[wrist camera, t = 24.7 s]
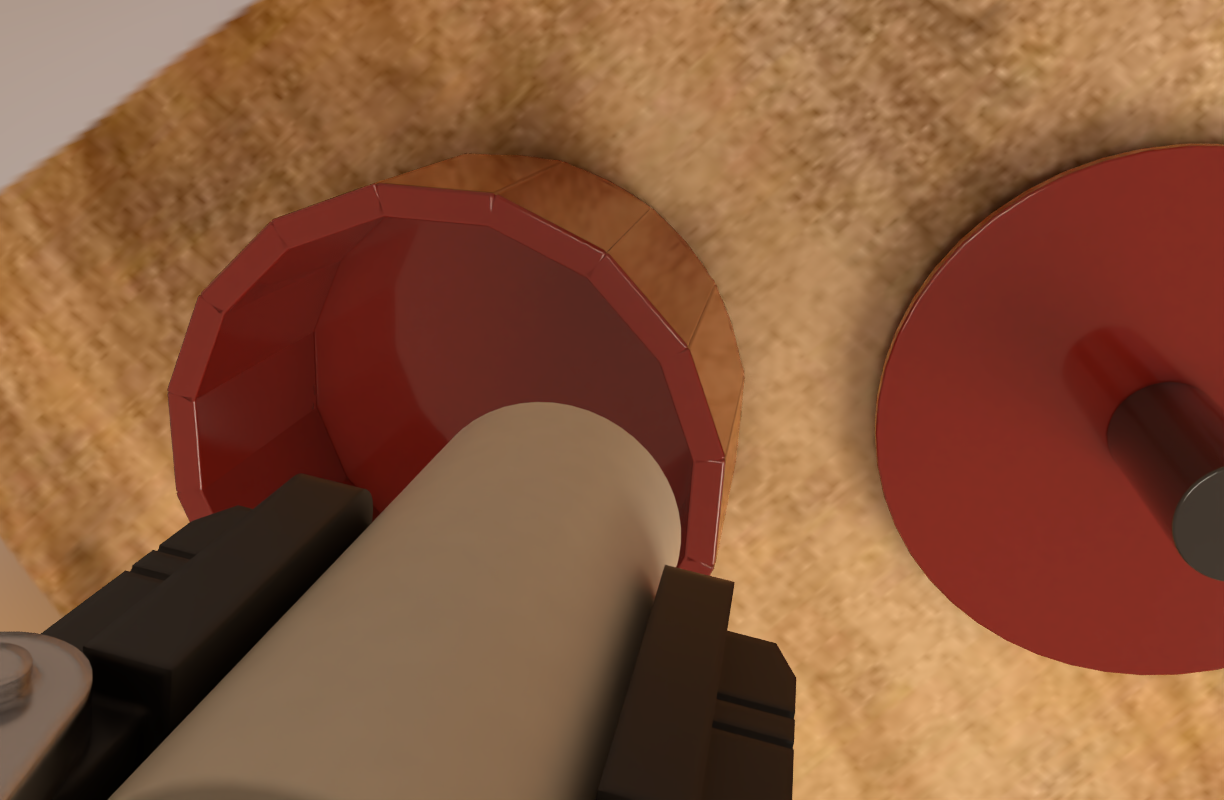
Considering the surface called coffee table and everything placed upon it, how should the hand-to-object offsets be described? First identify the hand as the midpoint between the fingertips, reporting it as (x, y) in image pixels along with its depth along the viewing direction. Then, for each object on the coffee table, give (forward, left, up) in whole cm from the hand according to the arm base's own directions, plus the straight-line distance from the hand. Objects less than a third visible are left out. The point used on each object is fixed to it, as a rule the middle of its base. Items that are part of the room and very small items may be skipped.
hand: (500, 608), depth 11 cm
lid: (+9, +11, -21) cm, 25 cm away
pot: (+3, -7, -22) cm, 23 cm away
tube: (0, 0, -2) cm, 2 cm away
